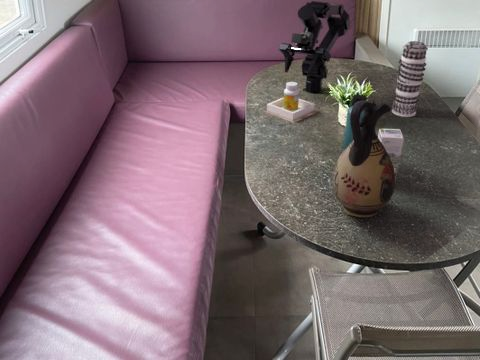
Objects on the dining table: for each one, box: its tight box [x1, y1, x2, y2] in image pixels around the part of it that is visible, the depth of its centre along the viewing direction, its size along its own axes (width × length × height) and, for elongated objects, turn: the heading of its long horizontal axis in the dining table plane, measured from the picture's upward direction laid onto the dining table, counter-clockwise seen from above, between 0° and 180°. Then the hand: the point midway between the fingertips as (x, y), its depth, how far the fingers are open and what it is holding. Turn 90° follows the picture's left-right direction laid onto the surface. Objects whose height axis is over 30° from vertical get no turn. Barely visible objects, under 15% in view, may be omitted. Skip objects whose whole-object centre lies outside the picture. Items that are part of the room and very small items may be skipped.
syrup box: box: [377, 128, 404, 182], centre depth 139 cm, size 6×6×14 cm
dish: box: [266, 96, 315, 123], centre depth 181 cm, size 12×12×3 cm
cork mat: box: [263, 109, 319, 124], centre depth 182 cm, size 14×14×1 cm
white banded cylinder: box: [391, 40, 429, 118], centre depth 176 cm, size 9×9×25 cm
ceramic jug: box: [331, 99, 396, 218], centre depth 122 cm, size 17×15×30 cm
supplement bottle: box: [283, 81, 300, 112], centre depth 179 cm, size 5×5×10 cm
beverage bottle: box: [342, 93, 368, 153], centre depth 148 cm, size 6×7×20 cm
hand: (296, 73), depth 181 cm, fingers open, 9 cm apart
